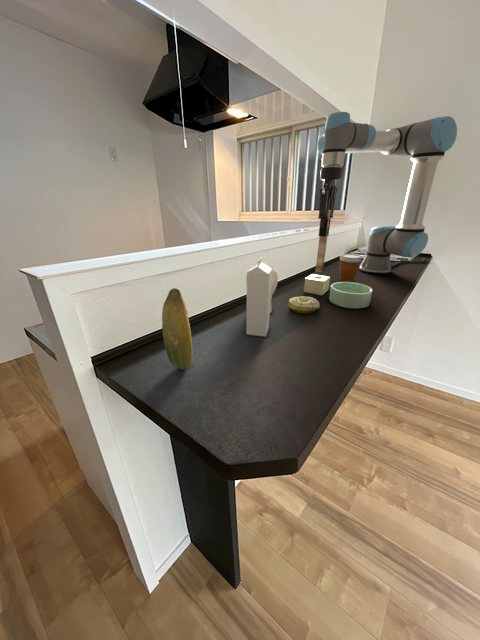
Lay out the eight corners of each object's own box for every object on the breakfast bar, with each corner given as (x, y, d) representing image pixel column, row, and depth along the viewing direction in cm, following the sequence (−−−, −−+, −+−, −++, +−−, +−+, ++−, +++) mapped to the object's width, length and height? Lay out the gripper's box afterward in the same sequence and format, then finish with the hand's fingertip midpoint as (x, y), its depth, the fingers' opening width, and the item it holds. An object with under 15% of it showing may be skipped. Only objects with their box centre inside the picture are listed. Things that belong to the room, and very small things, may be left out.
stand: (310, 287, 119) (312, 274, 116) (328, 290, 114) (330, 276, 112) (303, 291, 113) (305, 278, 110) (322, 295, 108) (324, 281, 106)
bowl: (334, 293, 111) (337, 279, 108) (372, 300, 103) (375, 285, 101) (323, 304, 100) (326, 289, 97) (364, 313, 92) (368, 296, 90)
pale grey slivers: (273, 305, 99) (275, 265, 93) (278, 316, 90) (280, 273, 83) (245, 305, 99) (245, 265, 92) (246, 317, 89) (247, 274, 83)
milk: (246, 334, 78) (246, 260, 69) (250, 325, 84) (250, 256, 74) (266, 337, 77) (269, 261, 67) (269, 327, 82) (272, 256, 73)
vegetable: (199, 371, 62) (192, 291, 53) (173, 381, 59) (162, 297, 50) (189, 359, 66) (181, 283, 58) (164, 367, 63) (152, 288, 55)
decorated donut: (324, 312, 93) (326, 302, 92) (299, 317, 89) (300, 306, 88) (306, 302, 102) (307, 292, 100) (283, 306, 98) (283, 296, 96)
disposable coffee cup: (335, 282, 125) (339, 256, 120) (336, 277, 133) (340, 253, 128) (356, 284, 122) (362, 258, 116) (357, 279, 129) (362, 254, 124)
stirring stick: (317, 270, 112) (324, 209, 101) (323, 271, 110) (331, 209, 100) (315, 272, 110) (322, 209, 99) (321, 273, 108) (329, 210, 98)
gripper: (328, 169, 101) (320, 233, 111) (314, 166, 90) (307, 237, 100) (348, 168, 97) (338, 234, 108) (336, 165, 86) (326, 239, 96)
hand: (323, 235), depth 104 cm, fingers closed on stirring stick, 2 cm apart
